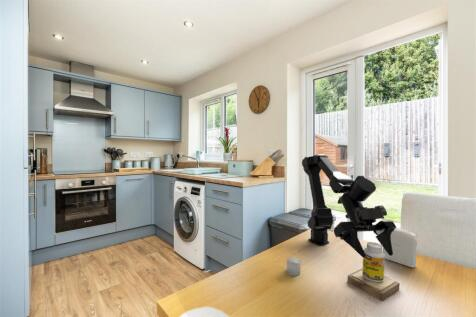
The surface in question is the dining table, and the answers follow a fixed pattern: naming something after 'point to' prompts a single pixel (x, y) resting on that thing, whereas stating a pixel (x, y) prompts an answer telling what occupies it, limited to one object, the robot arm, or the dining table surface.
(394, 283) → the tan flat square block
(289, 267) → the white rounded knob
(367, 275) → the supplement bottle
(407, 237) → the photo printer
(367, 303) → the dining table surface
